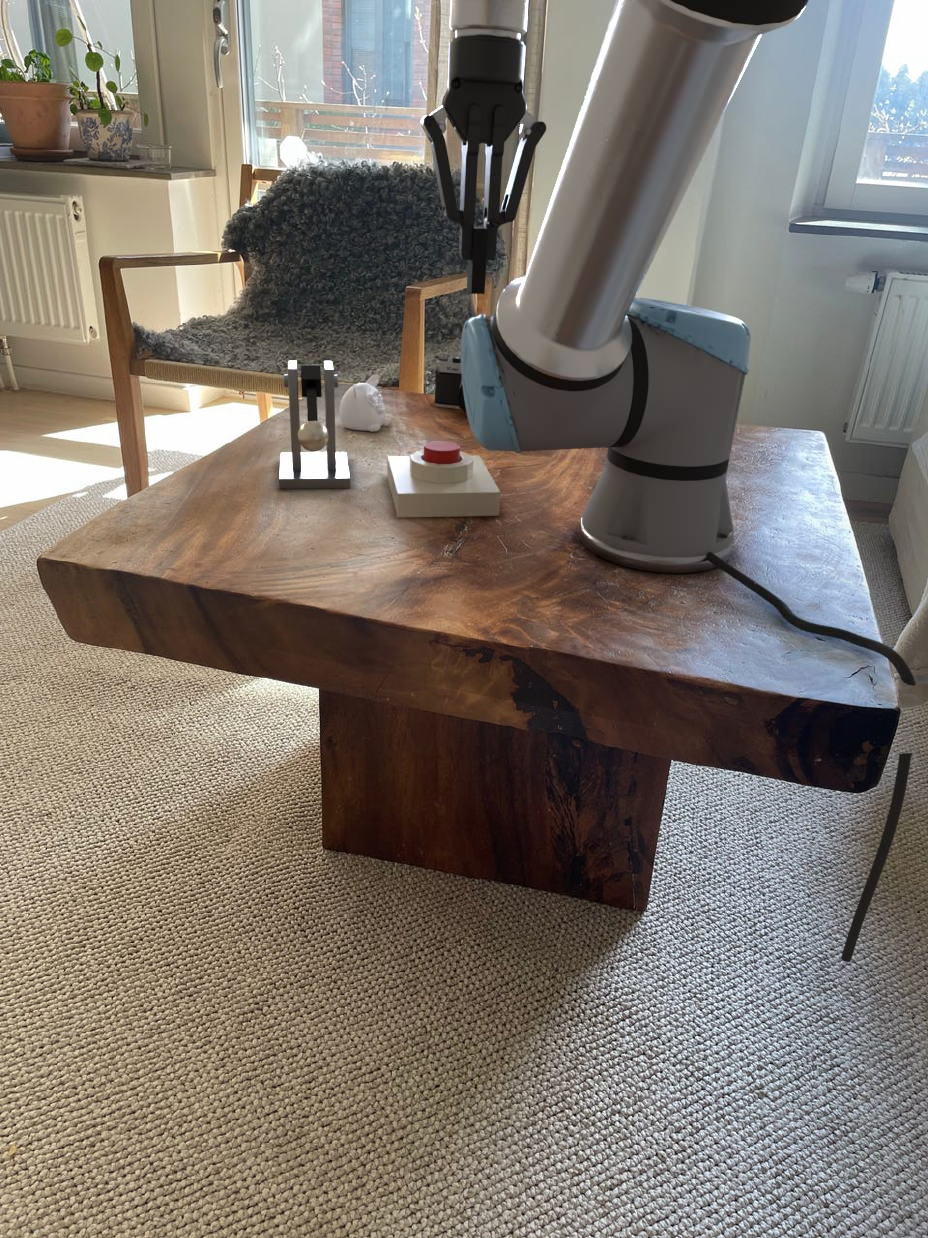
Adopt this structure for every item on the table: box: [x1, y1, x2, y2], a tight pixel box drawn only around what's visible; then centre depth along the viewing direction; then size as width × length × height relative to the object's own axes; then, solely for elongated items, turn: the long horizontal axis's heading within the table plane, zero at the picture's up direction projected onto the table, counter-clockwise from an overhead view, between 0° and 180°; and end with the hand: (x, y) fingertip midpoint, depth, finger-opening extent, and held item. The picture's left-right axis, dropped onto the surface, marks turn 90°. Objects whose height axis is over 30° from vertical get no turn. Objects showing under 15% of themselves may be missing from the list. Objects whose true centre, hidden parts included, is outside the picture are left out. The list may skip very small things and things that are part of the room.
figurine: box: [338, 373, 390, 433], centre depth 123 cm, size 8×6×7 cm
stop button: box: [423, 440, 461, 464], centre depth 98 cm, size 4×4×2 cm
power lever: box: [298, 364, 328, 452], centre depth 97 cm, size 13×3×3 cm, turn 9°
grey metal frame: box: [278, 360, 351, 490], centre depth 102 cm, size 10×8×13 cm
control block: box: [386, 449, 501, 518], centre depth 100 cm, size 13×11×4 cm
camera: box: [433, 355, 467, 415], centre depth 133 cm, size 13×8×9 cm, turn 81°
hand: (475, 291), depth 98 cm, fingers closed
